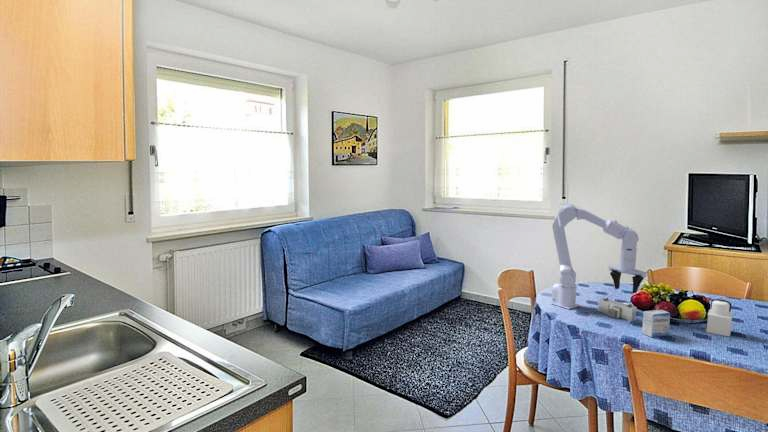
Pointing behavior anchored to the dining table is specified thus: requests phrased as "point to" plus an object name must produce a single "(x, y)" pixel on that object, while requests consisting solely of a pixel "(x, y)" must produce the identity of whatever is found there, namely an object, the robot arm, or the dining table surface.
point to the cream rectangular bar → (615, 311)
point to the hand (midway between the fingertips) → (625, 290)
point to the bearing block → (627, 310)
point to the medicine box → (656, 323)
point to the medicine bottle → (719, 318)
